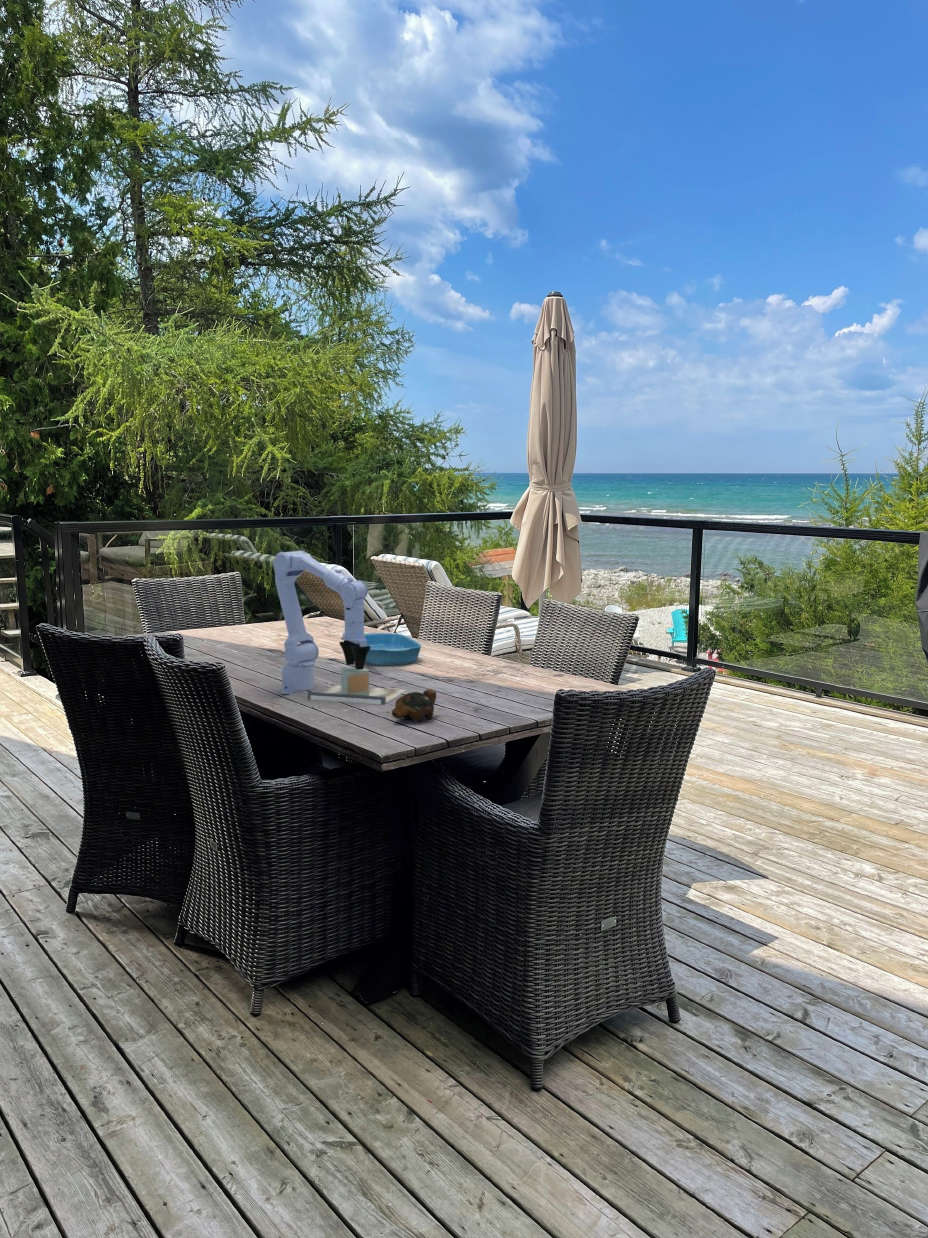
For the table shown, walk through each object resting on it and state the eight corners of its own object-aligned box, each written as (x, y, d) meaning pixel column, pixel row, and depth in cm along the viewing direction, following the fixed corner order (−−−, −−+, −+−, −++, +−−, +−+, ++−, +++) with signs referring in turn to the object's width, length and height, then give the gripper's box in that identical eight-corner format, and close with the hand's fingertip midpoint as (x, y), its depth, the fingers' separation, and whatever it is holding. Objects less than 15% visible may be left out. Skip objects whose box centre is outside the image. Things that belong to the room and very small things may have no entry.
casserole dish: (428, 665, 327) (428, 646, 326) (368, 670, 319) (368, 650, 318) (399, 648, 361) (399, 631, 360) (344, 652, 353) (343, 634, 352)
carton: (341, 695, 272) (340, 669, 271) (363, 693, 276) (362, 667, 274) (347, 699, 268) (347, 672, 267) (369, 696, 271) (369, 670, 270)
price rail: (307, 704, 268) (307, 692, 267) (309, 703, 269) (309, 691, 268) (384, 709, 261) (384, 697, 261) (385, 708, 263) (385, 696, 262)
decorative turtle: (446, 717, 253) (446, 690, 251) (408, 731, 242) (407, 703, 241) (421, 709, 260) (421, 683, 258) (383, 723, 249) (382, 695, 247)
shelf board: (310, 703, 269) (310, 698, 269) (334, 690, 286) (334, 685, 286) (386, 708, 263) (386, 703, 263) (406, 694, 280) (406, 689, 280)
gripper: (332, 619, 273) (333, 663, 275) (350, 626, 260) (351, 672, 262) (354, 618, 276) (355, 661, 278) (373, 624, 264) (373, 670, 266)
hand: (354, 667), depth 270 cm, fingers open, 7 cm apart
